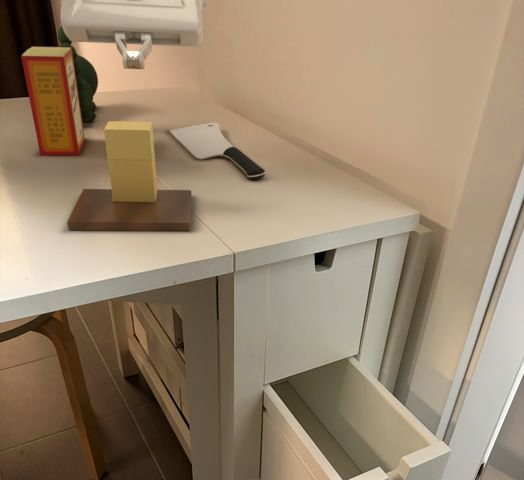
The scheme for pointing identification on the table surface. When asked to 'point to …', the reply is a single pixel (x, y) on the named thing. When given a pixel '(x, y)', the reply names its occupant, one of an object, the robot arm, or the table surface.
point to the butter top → (129, 140)
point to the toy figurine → (82, 79)
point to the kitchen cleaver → (215, 147)
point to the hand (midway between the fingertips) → (133, 66)
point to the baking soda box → (54, 99)
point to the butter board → (131, 212)
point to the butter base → (133, 180)
